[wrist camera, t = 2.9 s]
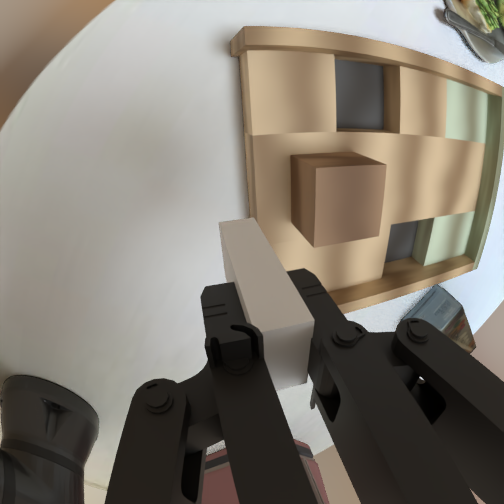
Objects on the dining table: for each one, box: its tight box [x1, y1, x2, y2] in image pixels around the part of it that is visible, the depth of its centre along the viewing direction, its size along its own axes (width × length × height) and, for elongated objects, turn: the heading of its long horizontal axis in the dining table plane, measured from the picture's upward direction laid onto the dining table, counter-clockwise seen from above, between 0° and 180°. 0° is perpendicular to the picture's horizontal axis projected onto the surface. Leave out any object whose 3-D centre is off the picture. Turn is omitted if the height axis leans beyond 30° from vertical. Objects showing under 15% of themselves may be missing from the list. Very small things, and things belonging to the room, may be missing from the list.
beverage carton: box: [400, 284, 476, 354], centre depth 37 cm, size 8×19×7 cm, turn 46°
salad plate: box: [444, 0, 504, 64], centre depth 14 cm, size 19×18×5 cm
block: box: [290, 152, 387, 248], centre depth 19 cm, size 5×5×4 cm
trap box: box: [230, 26, 504, 314], centre depth 22 cm, size 28×22×4 cm
